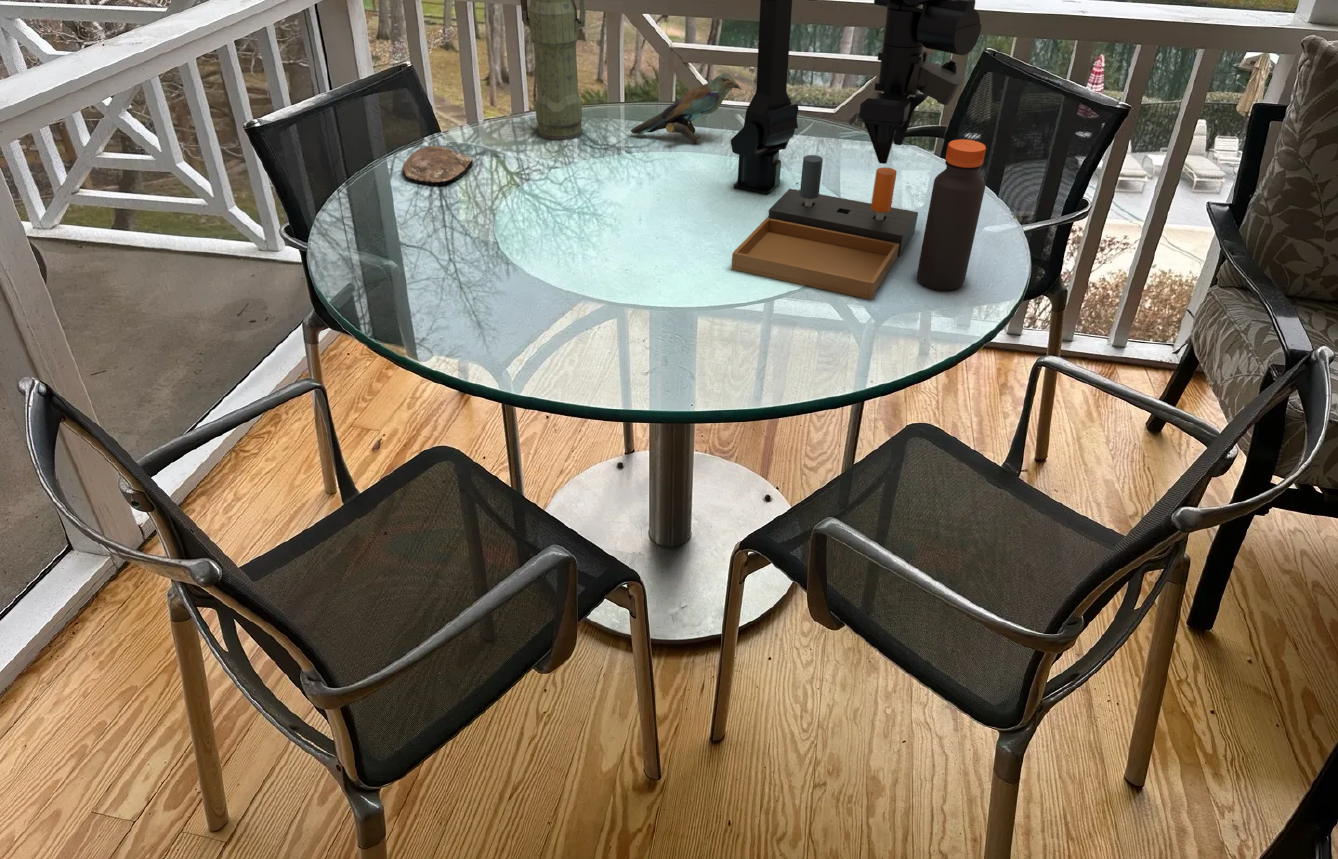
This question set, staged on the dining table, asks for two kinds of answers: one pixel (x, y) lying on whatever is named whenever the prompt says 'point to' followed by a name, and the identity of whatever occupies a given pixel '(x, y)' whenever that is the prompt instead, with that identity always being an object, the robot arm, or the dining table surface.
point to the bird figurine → (690, 108)
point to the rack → (846, 217)
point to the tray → (816, 257)
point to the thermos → (556, 65)
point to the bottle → (952, 217)
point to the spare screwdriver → (811, 178)
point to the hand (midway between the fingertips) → (890, 153)
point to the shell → (436, 165)
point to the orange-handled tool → (883, 191)
